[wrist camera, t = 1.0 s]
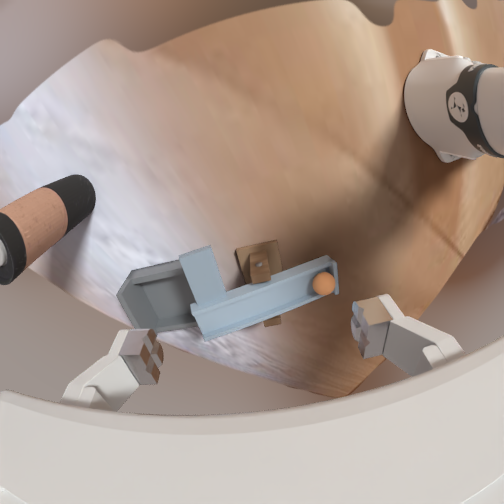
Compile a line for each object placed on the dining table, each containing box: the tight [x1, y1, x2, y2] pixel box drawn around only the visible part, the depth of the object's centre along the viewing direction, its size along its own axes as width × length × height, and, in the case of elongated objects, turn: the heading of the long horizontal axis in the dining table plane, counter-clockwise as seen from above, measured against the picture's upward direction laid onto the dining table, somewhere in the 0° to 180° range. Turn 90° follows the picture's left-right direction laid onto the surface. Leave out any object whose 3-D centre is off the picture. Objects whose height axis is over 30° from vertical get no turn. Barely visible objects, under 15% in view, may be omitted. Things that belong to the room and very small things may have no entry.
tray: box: [116, 260, 198, 340], centre depth 41 cm, size 12×11×7 cm
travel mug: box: [0, 175, 96, 285], centre depth 28 cm, size 8×8×20 cm
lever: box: [179, 245, 339, 342], centre depth 36 cm, size 20×12×3 cm, turn 104°
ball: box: [312, 272, 335, 295], centre depth 37 cm, size 3×3×3 cm
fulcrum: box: [236, 240, 283, 327], centre depth 40 cm, size 6×10×7 cm, turn 13°
